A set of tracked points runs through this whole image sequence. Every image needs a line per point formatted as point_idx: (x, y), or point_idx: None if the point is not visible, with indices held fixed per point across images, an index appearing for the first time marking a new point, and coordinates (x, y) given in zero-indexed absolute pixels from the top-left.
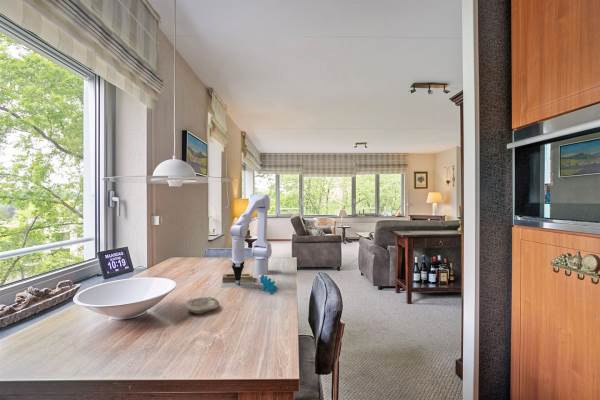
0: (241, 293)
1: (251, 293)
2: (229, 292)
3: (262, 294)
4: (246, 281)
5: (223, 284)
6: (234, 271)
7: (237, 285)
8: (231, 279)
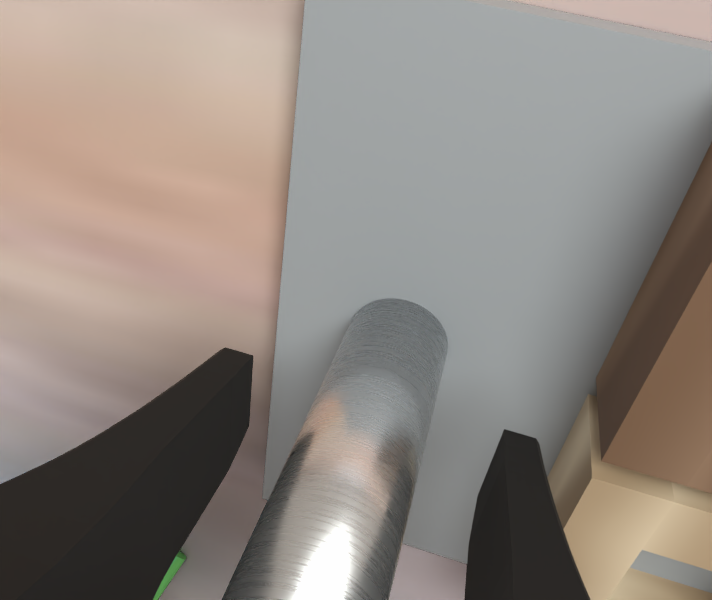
0: (38, 272)
1: (42, 377)
2: (86, 109)
3: (12, 454)
4: None
5: (557, 63)
6: (12, 489)
7: (350, 322)
8: (656, 318)
